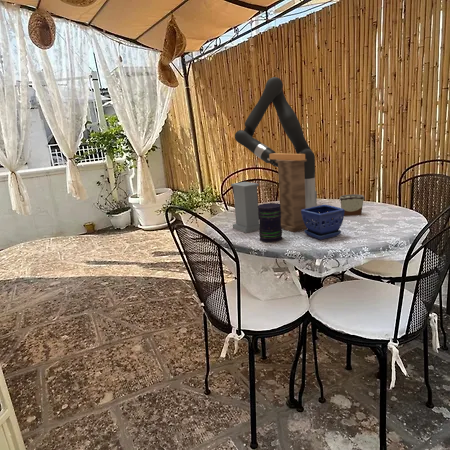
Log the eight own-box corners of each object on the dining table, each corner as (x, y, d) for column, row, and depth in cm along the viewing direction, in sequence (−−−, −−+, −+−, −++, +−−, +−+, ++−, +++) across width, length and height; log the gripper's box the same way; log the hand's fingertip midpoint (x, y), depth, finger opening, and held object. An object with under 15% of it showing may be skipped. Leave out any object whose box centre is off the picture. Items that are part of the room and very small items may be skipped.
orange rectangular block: (269, 159, 173) (269, 153, 173) (274, 158, 175) (274, 153, 174) (299, 160, 154) (299, 154, 154) (305, 159, 156) (305, 153, 155)
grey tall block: (232, 228, 178) (229, 184, 173) (249, 224, 183) (246, 181, 177) (245, 233, 168) (242, 186, 163) (263, 228, 173) (260, 183, 167)
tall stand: (277, 227, 173) (273, 160, 165) (293, 223, 177) (290, 158, 169) (293, 232, 163) (290, 161, 155) (310, 227, 167) (308, 158, 159)
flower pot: (320, 242, 146) (319, 214, 143) (300, 235, 158) (299, 208, 155) (345, 236, 151) (345, 208, 148) (325, 229, 163) (324, 203, 160)
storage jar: (279, 242, 150) (278, 208, 146) (257, 242, 153) (254, 208, 150) (284, 235, 159) (282, 202, 155) (262, 235, 162) (260, 203, 159)
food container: (361, 212, 187) (361, 193, 184) (364, 215, 181) (364, 195, 178) (337, 213, 188) (336, 195, 186) (339, 216, 182) (339, 197, 180)
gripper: (262, 146, 187) (286, 162, 180) (274, 147, 198) (296, 163, 192) (255, 158, 190) (278, 175, 184) (267, 159, 202) (289, 175, 195)
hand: (287, 169), depth 188 cm, fingers open, 8 cm apart
